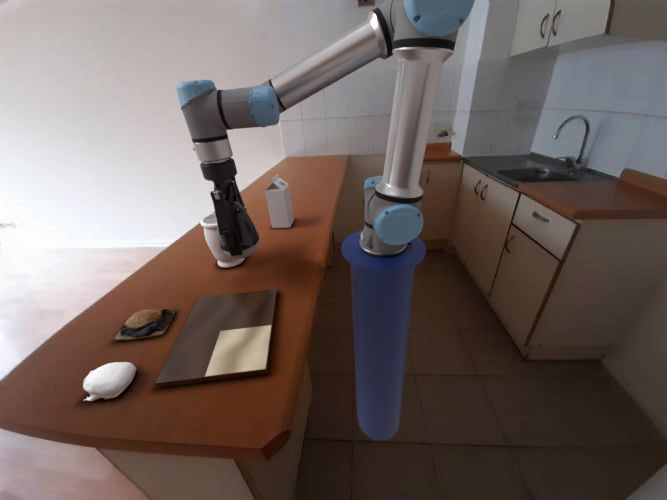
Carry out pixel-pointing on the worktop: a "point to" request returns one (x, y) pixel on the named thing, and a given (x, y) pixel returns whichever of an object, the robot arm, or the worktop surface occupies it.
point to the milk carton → (279, 203)
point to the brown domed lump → (145, 324)
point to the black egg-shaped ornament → (241, 232)
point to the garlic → (109, 380)
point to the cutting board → (222, 339)
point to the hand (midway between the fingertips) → (241, 244)
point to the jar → (217, 242)
